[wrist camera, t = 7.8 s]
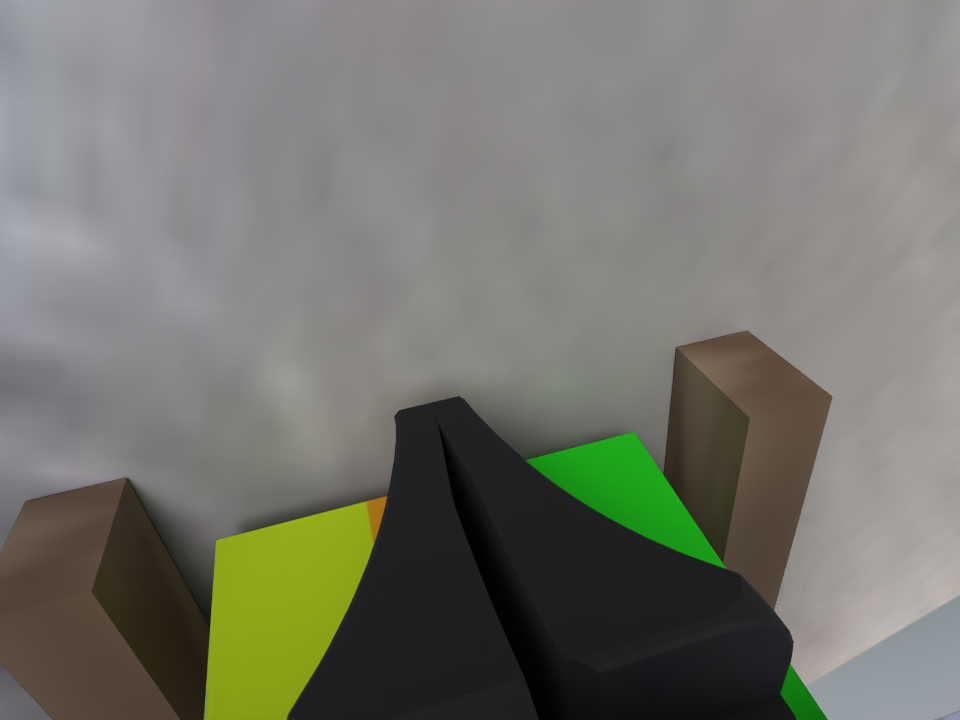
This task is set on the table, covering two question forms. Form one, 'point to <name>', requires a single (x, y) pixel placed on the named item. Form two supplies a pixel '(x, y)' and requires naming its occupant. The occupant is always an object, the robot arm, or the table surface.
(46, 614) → the walnut frame
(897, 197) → the table surface
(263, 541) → the puzzle toy
